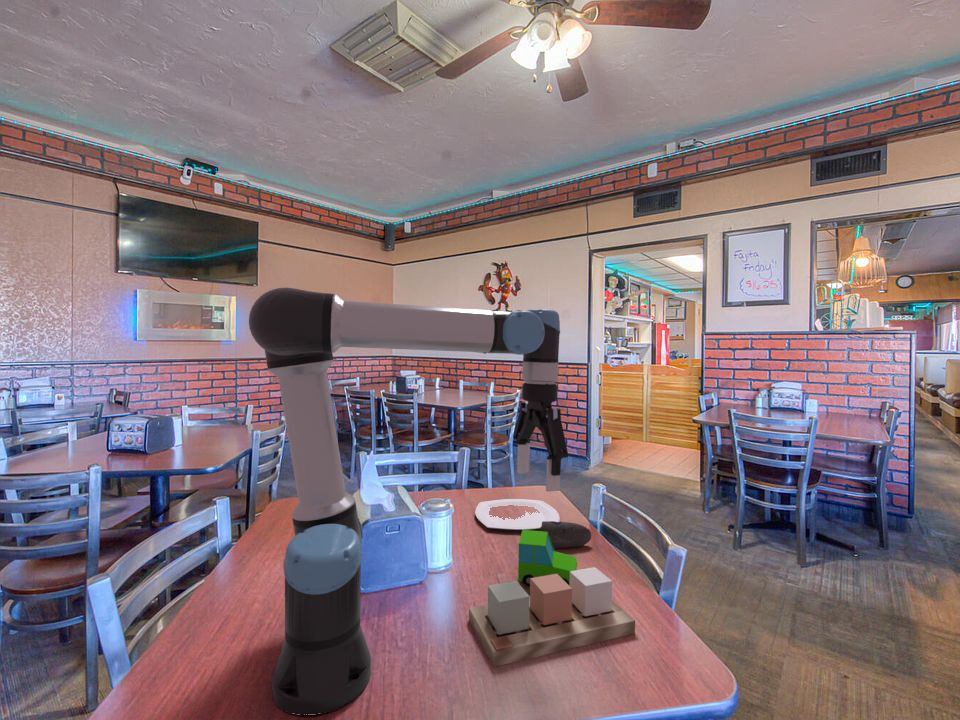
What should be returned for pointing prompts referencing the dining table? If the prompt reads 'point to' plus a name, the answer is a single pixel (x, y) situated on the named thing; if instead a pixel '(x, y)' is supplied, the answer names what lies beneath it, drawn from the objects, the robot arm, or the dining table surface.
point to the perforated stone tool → (566, 534)
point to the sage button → (508, 607)
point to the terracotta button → (550, 599)
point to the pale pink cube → (591, 591)
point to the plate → (521, 523)
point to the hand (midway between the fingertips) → (536, 481)
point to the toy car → (542, 558)
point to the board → (548, 634)
